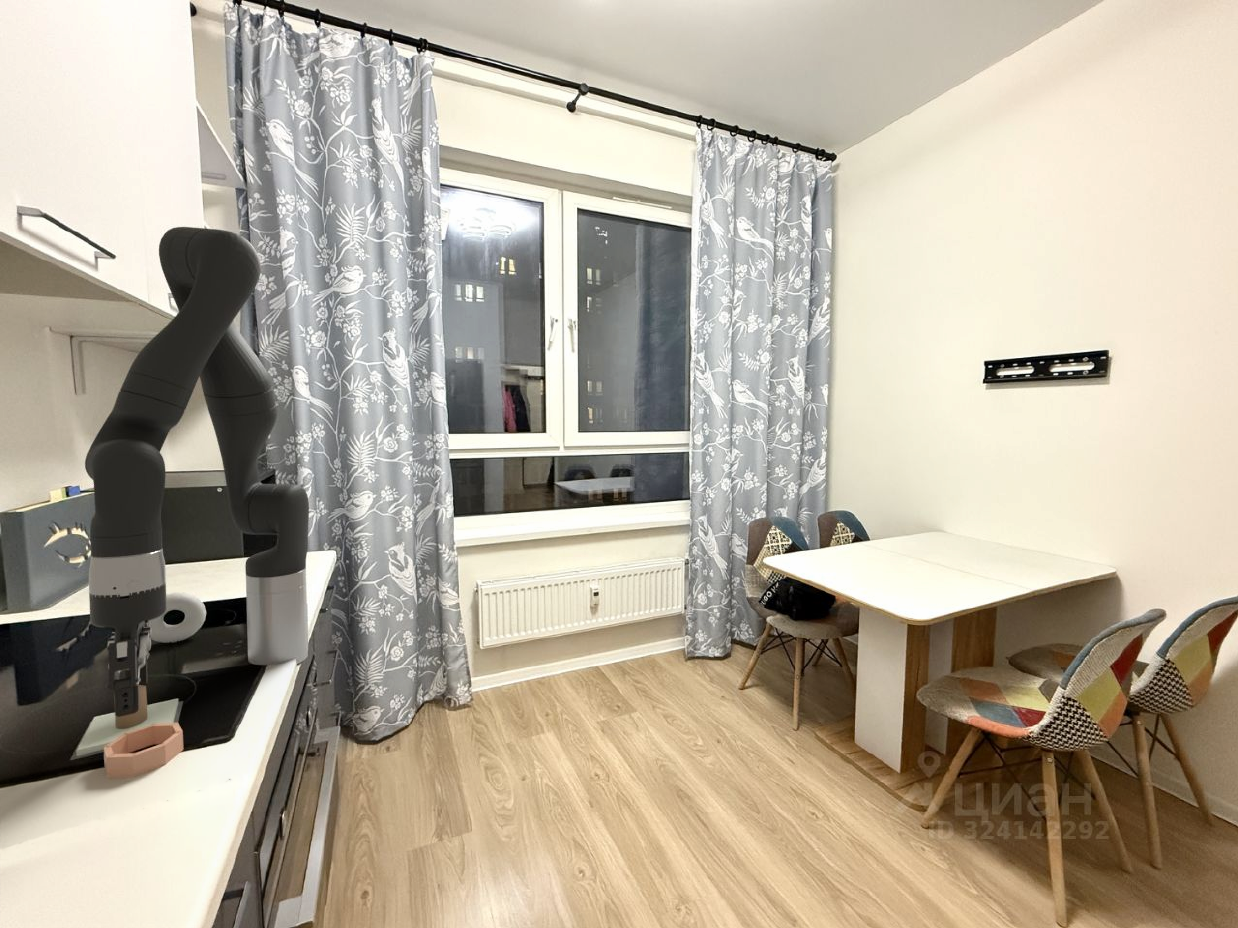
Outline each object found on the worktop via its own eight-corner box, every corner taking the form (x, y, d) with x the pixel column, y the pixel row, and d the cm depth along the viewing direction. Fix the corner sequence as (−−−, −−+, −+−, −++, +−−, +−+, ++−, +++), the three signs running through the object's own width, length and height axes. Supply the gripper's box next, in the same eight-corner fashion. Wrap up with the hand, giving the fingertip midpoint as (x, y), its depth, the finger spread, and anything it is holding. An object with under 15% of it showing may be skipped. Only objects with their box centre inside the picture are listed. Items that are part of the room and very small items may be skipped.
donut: (207, 633, 106) (206, 586, 105) (206, 638, 103) (204, 591, 102) (142, 644, 100) (140, 594, 99) (139, 650, 97) (137, 600, 96)
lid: (94, 722, 71) (92, 686, 71) (178, 703, 77) (177, 669, 76) (76, 756, 64) (74, 716, 64) (170, 732, 69) (169, 695, 69)
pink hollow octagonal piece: (138, 752, 67) (137, 723, 67) (195, 750, 68) (194, 721, 68) (89, 789, 61) (87, 757, 60) (153, 786, 61) (151, 755, 61)
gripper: (100, 577, 72) (104, 687, 73) (76, 603, 61) (81, 733, 62) (170, 569, 77) (173, 673, 78) (160, 593, 65) (163, 714, 66)
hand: (132, 700), depth 70 cm, fingers open, 8 cm apart
